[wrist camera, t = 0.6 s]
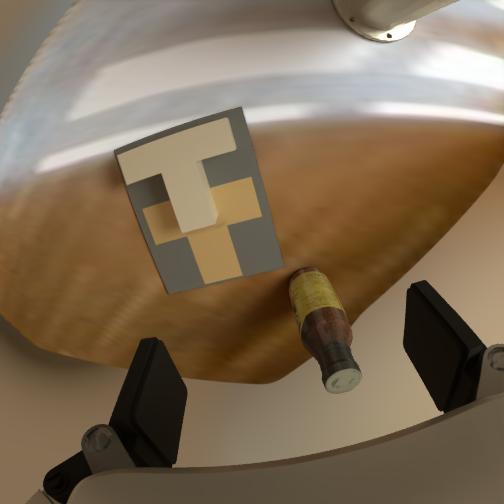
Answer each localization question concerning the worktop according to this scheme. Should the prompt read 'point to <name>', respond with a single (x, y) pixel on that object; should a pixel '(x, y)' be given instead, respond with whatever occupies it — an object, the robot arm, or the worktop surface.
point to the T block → (183, 169)
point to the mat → (227, 224)
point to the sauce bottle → (324, 329)
